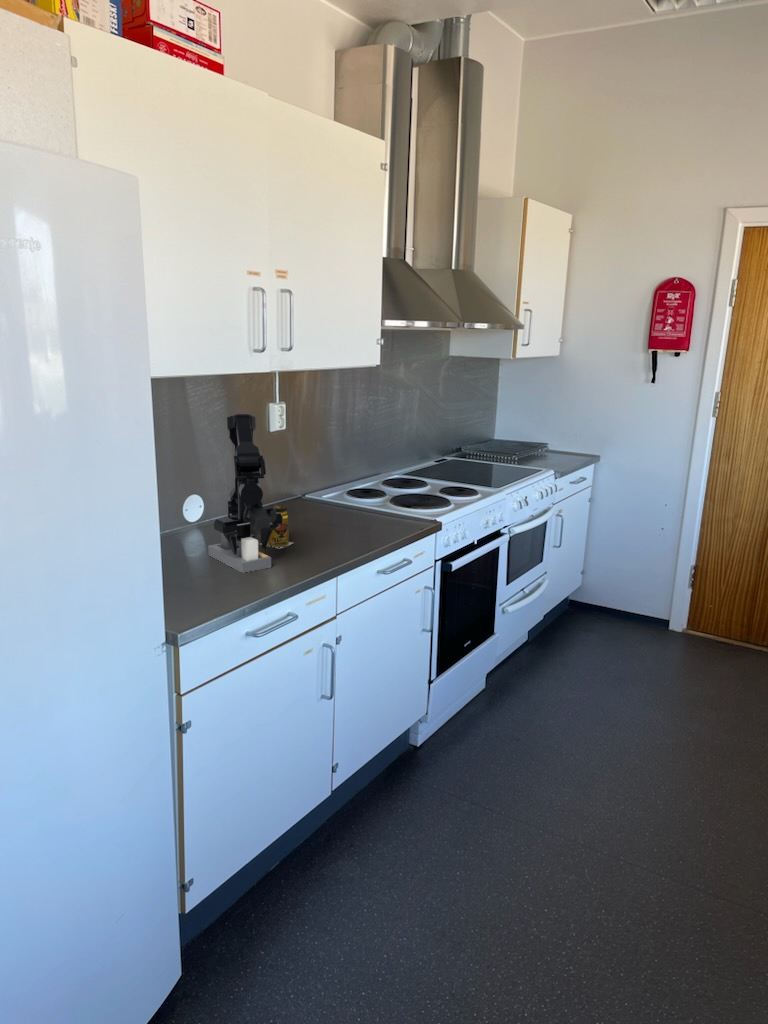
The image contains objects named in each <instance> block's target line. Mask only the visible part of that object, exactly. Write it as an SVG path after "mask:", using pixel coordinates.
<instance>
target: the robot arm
mask: <svg viewBox="0 0 768 1024" xmlns="http://www.w3.org/2000/svg"><path fill="white" fill-rule="evenodd" d="M256 421H257V419H256V416H253V415H252V414H249V413H236V414H233V415H230V416H227V417H226V419H225V425H226V426H225V428H226V430H225V431H226V432H228V437H229V439H230V441H231V443H232V444H233V458H232V459H233V460H232V461H233V462H232V463H233V473H234V474H233V476H234V477H233V478H234V479H233V484H234V487H233V488H232V489H231V491H230V492H229V499H228V500H227V501H226V515H227V516H226V517H222V518H216V519H215V521H214V522H213V529H214V530H215V531H218V533H220V534H221V533H223V534H224V536H225V538H226V539H227V541H228V543H229V545H230V548H231V550H232V552H233V554H236V553H237V545H236V536H237V541H239V540H240V541H241V539H242V538H248V537H252V538H255V537H256V535H254V534H253V533H252V528H253V529H255V530H260V539H261V540H260V541H261V543H262V545H261V547H262V549H264V550H266V549H267V547H268V546H267V543H268V540H269V538H270V535H271V533H272V531H273V530H274V529H275V528H276V527H278V526H279V525H278V524H282V523H283V516H282V515H281V514H280V513H278V512H276V510H275V509H274V508H270V507H269V508H264V507H263V501H262V500H263V497H264V496H263V495H264V492H263V490H262V487H261V485H260V479H265V475H266V472H267V470H266V462H265V459H264V456H263V454H261V452H260V448H259V446H257V445H255V444H254V439H253V438H254V432H255V431H256V429H257V425H256V424H257V423H256ZM235 530H236V531H235Z"/></svg>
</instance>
